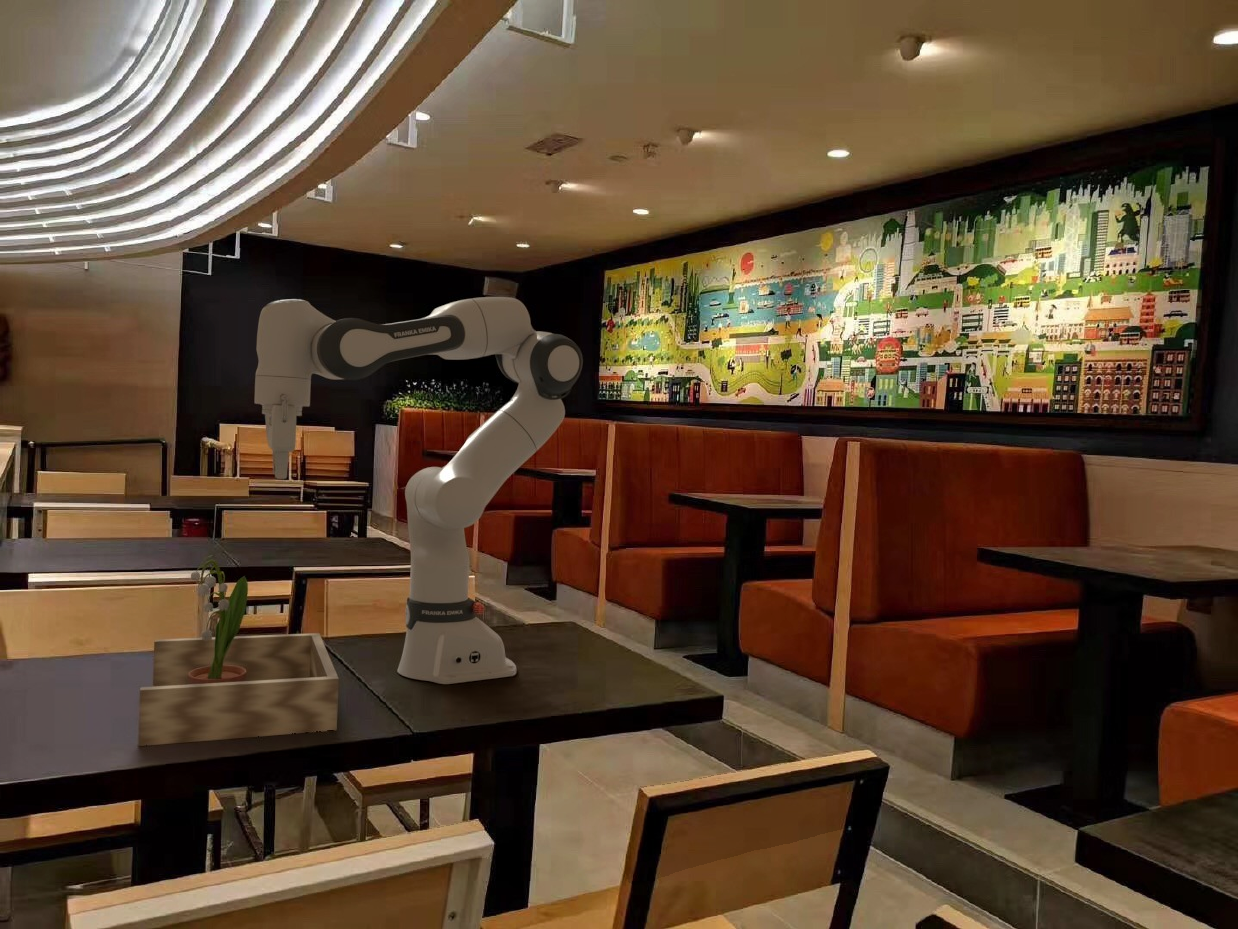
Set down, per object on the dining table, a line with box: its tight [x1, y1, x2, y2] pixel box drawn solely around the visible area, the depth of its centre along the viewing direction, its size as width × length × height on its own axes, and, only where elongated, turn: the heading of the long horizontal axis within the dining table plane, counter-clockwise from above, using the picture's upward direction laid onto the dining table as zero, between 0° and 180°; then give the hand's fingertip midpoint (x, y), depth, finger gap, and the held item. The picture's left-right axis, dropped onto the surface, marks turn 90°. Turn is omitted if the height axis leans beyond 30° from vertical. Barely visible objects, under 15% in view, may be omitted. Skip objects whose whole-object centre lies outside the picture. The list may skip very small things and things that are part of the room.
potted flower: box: [188, 555, 249, 685], centre depth 147 cm, size 12×10×25 cm
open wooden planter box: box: [137, 632, 340, 747], centre depth 149 cm, size 27×31×8 cm
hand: (279, 476), depth 156 cm, fingers open, 8 cm apart
